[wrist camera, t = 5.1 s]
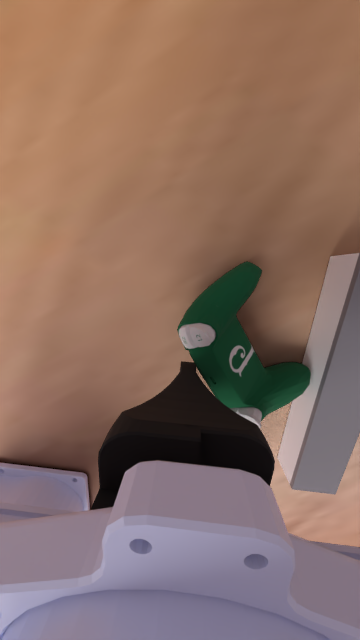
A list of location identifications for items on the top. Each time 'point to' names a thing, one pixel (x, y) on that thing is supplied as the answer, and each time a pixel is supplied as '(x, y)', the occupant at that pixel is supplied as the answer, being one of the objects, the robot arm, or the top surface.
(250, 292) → the gaming controller
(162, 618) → the robot arm
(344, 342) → the bar
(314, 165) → the top surface
